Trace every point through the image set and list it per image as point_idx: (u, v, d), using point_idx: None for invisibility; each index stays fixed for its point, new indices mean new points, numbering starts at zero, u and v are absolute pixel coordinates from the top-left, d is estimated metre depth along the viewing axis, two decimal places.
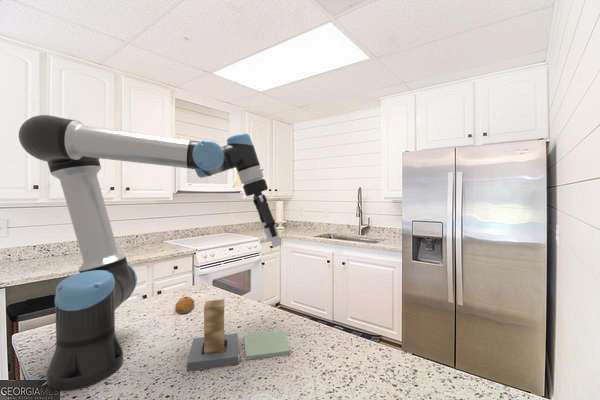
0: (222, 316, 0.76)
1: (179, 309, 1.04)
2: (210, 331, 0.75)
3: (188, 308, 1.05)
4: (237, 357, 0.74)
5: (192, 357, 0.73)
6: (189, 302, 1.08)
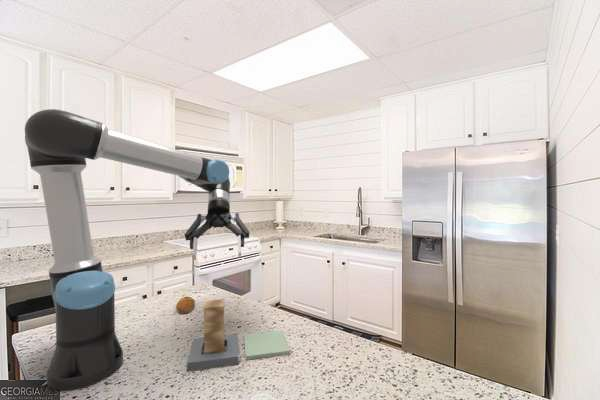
0: (222, 316, 0.76)
1: (180, 309, 1.05)
2: (210, 331, 0.75)
3: (189, 308, 1.06)
4: (237, 357, 0.74)
5: (192, 357, 0.73)
6: (190, 302, 1.08)
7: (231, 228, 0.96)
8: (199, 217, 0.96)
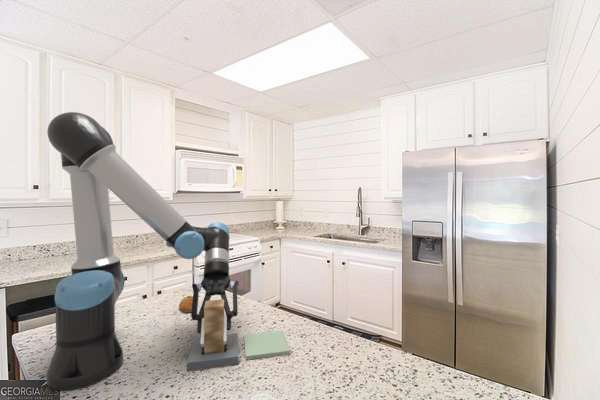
0: (222, 316, 0.76)
1: (184, 308, 1.05)
2: (210, 331, 0.75)
3: None
4: (237, 357, 0.74)
5: (192, 357, 0.73)
6: None
7: None
8: (196, 288, 0.83)
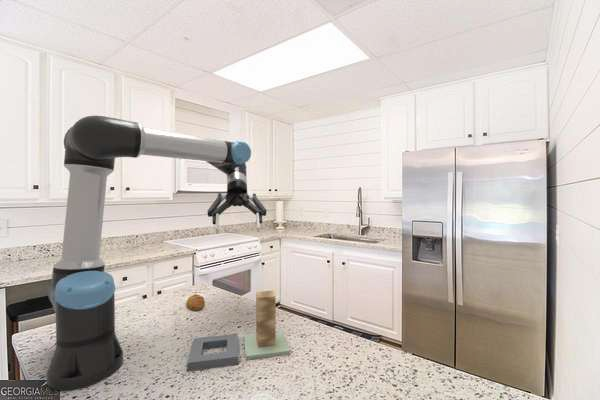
0: (274, 306, 0.81)
1: (193, 306, 1.07)
2: (263, 319, 0.80)
3: (202, 305, 1.09)
4: (237, 357, 0.74)
5: (192, 357, 0.73)
6: (201, 299, 1.11)
7: (249, 206, 1.03)
8: (220, 196, 1.03)
